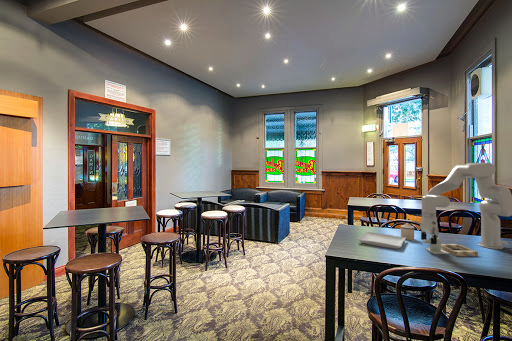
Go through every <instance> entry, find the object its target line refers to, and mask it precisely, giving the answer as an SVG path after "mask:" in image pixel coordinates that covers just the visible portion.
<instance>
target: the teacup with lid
mask: <svg viewBox="0 0 512 341" xmlns="http://www.w3.org/2000/svg"><path fill="white" fill-rule="evenodd" d="M400 237H405V238H406V239H405V241H414V240H415V227H414V226H413V225H411V224H410V223H408V222H406V223H405V224H402V225H400Z"/></svg>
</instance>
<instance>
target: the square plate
mask: <svg viewBox="0 0 512 341" xmlns="http://www.w3.org/2000/svg"><path fill="white" fill-rule="evenodd" d="M405 239H406V238H405V237H401V236H398V235H393V234H386V233H379V232H373V231H372V232H371V231H365V233H364V234H362V235H361V236H359V237H358V238H357V240H358V241H359V243H362V244H366V245H370V246H376V247H381V248H388V249H400V248H401V247H402V245H403V244H404V242H405V241H406V240H405Z"/></svg>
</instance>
